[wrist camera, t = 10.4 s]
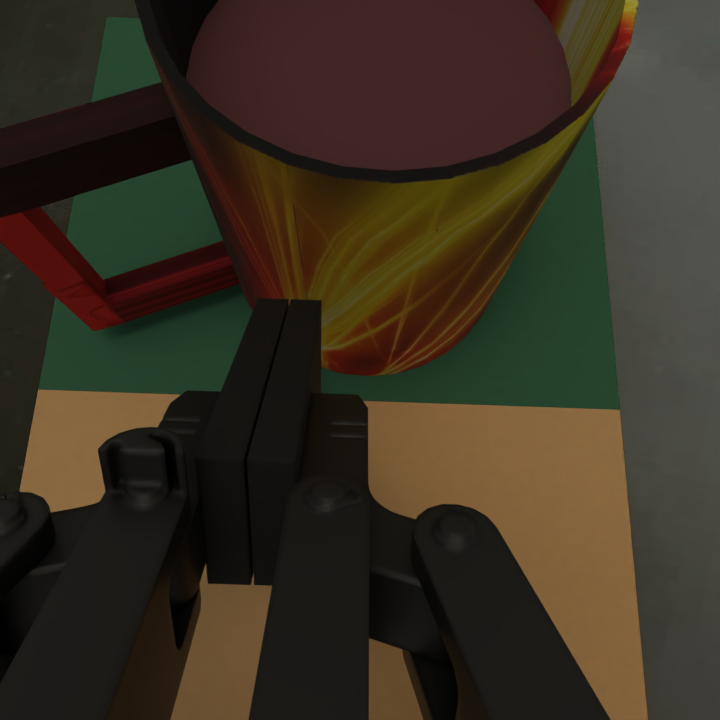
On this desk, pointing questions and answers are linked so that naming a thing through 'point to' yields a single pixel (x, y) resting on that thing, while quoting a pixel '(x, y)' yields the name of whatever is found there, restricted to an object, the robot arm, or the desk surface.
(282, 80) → the mug
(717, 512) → the desk surface
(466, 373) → the desk mat
